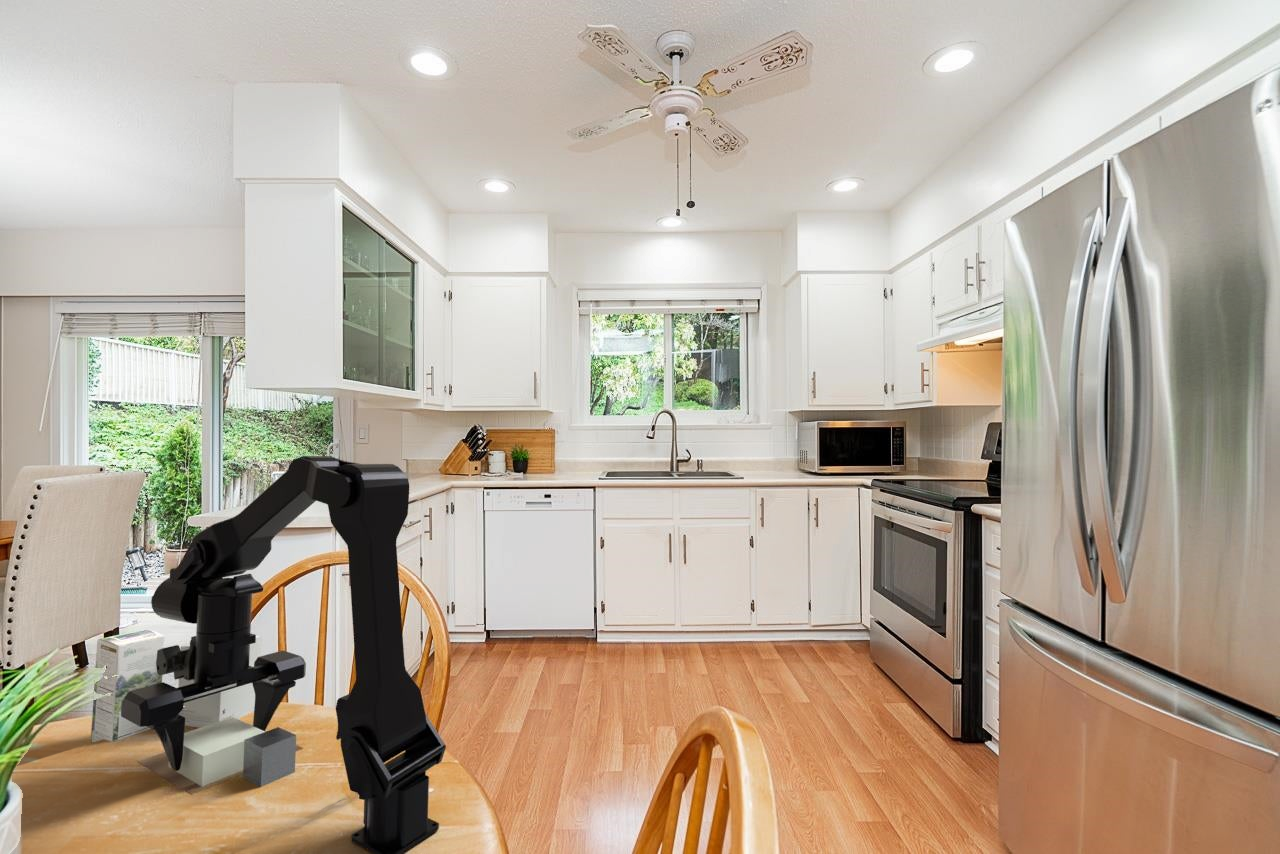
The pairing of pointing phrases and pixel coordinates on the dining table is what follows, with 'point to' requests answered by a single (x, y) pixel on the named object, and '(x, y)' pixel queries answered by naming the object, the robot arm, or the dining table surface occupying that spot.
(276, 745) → the grey block
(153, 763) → the walnut board
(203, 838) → the dining table surface
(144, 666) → the syrup box
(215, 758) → the sage cover
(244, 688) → the supplement box
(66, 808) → the dining table surface
